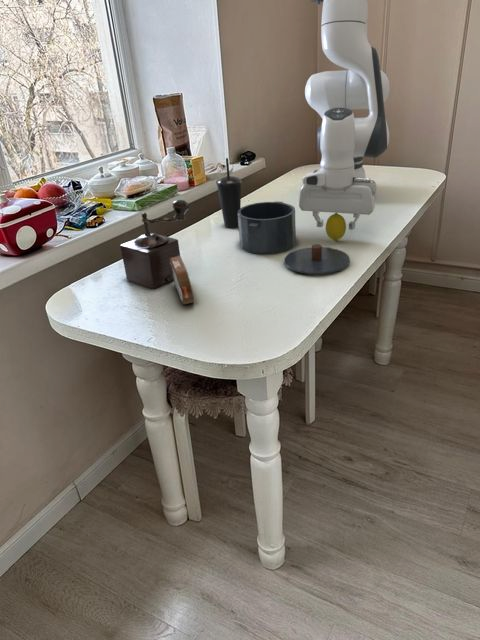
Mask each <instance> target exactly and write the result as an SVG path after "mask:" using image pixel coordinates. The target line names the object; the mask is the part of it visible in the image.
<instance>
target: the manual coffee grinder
mask: <svg viewBox="0 0 480 640" xmlns="http://www.w3.org/2000/svg"><path fill="white" fill-rule="evenodd" d="M172 208H173V211H174V212H175V214H174V216H173V217H158V218H152V219H149V218H148V214H147V213H146V212H142V213H141V223H143V227H144V231H145V232H144V234H141V235H140V236H138V237H137V238H135V239H131V240H130V241H127V242H124V243H121V244H120V252H121V257H122V262H123V267H124V272H125V277H126V281H129V282H130V283H134V284H137V285H139V286H142V287H144V288H145V287H146V288H149V289H153V290H155V289H157V288H160V287H162V286H164V285H166V284H169V283H170V282H172V281H174V278H173V271H172V266H171V264H170V258H172V257H177V256H179V255H180V256H181V251H180V244H179V239H177V238H173V237H170V236H165V235H161V234H157V233H155V232H150V228H149V223H150V224H154V223H155V224H156V223H162V222H163V223H164V222H176V221H178V222H181V221H182V220H183V221H185V220H187V218H186V213H187V211H188V210H189V209H190V204H189V203H188V202H187V201H186V200H184V199H176V200H174V201H173V202H172Z"/></svg>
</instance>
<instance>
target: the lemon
mask: <svg viewBox="0 0 480 640" xmlns="http://www.w3.org/2000/svg"><path fill="white" fill-rule="evenodd" d="M346 231H347V224H346V219H345V217H344V216H343V215H342V214H340V213H333V214H331V215H330V216H329V217H328V218H327V220H326V223H325V233H326V235H327V236H328V238H329V239H331V240H333V241H334V242H338V240H340V239H342V238H343V237H344V236H345V234H346Z"/></svg>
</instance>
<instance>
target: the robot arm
mask: <svg viewBox="0 0 480 640" xmlns="http://www.w3.org/2000/svg"><path fill="white" fill-rule="evenodd" d="M310 1H311V2H313V3H317V5H320V6H321V4H322V10H321V22H320V23H321V25H320V34H321V37H320V38H321V49H322V52H323V54H324V55H325V57H326V58H327V59H328V60H329V61H330V62H331V63H333V64H335V66H339V67H340V68H343V70H325V71H321V72H317V73H314V74H311V76H309V78H308V80H307V81H306V84H305V88H304V96H305V100H306V102H307V104H308V105H309V107H310V108H312V109H313V110H314V111H315V112H316V113H317V114H318V115H319V116H320V118H321V120H322V121H321V124H320V126H319V127H318V128H317V131H316V133H317V134H316V135H317V136H316V137H317V143H316V144H317V147H316V149H317V150H318V152H319V153H320V154H321V158H320V162H319V168H317V169H314V170H310V171H309V172H307V173H306V174H305V175H304V176H303V177H302V180H301V181H302V184H303V185H302V186H301V188H300V190H299V196H298V207H299V209H300V211H302V212H312V217H313V219H314V220H315V222H316V228H323V227H324V219H323V218H322V219H321V217H320V215H319V214H320V213H331V214H332V213H333V214H335V213H338V214H346V215H347V214H348V215H349V214H350V215H353V216H352V217H353V218H354V219H353V220H352V221H349V222H348V230H353V231H354V230H355V229H356V224H357V223H356V222H357V221H358V220H359V218H360V217H361V215H366V216H370V215H371V214H372V213H373V212H374V210H375V194H376V192H377V183H376V181H375V180H374V179H372V178H370V177H367V174H366V170H365V168H364V167H363V166H364V158H369V159H370V158H371V159H376V158H378V157H381V155H382V154H384V153H385V152H386V151H387V149H388V146H389V143H390V129H389V126H388V122H387V118H386V111H385V102H386V100H387V99H388V96H389V94H390V89H391V87H390V85H391V84H390V81H389V78H388V76H387V74H386V72H384V71H382V69H381V65H380V58H379V53H378V51H377V49H376V48H375V47H373V46H372V45H371V44H370V42H369V39H368V20H369V17H368V16H369V9H368V8H369V5H368V0H310ZM344 69H346V70H344ZM353 110H368V111H369V114H368V115H367V116H365V117H355V115H354V111H353Z"/></svg>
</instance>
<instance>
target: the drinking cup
mask: <svg viewBox="0 0 480 640" xmlns="http://www.w3.org/2000/svg"><path fill="white" fill-rule="evenodd" d="M225 165H226V175H225V176H222V177H220V178H219V179H217V180H216V181H215V184H216V185H217V186H216V187H217V191H218V197H219V203H220V208H221V213H222V219H223V223H224V227H225V228H226V229H235V228H239V225H238V210H239V209H241V208H242V207H241V204H242V202H241V200H242V199H241V198H242V183H243V181H242V180H243V179H242V178H239V177H237V176H233V175H230V165H229V158H227V157H225Z"/></svg>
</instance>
